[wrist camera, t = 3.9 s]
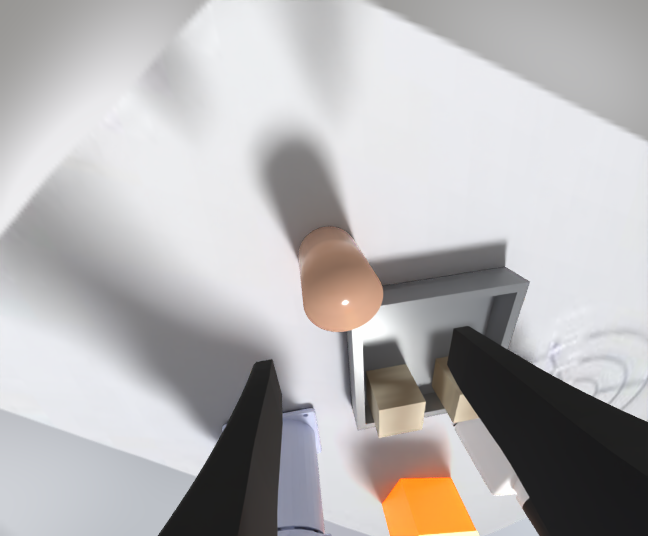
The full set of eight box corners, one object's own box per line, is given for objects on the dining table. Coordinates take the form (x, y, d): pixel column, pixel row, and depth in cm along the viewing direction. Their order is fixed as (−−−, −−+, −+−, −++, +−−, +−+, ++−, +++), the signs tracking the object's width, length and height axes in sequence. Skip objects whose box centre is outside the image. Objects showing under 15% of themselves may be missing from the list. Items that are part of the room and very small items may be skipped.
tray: (352, 407, 28) (357, 430, 26) (343, 292, 21) (350, 310, 19) (473, 384, 29) (489, 404, 27) (505, 266, 22) (529, 281, 20)
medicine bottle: (499, 426, 34) (595, 557, 24) (452, 427, 33) (531, 567, 22) (527, 389, 31) (652, 521, 20) (476, 389, 30) (581, 531, 19)
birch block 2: (431, 385, 27) (453, 423, 24) (435, 358, 25) (460, 395, 22) (467, 379, 27) (494, 415, 24) (474, 351, 26) (504, 386, 22)
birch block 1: (366, 397, 27) (379, 438, 23) (366, 371, 25) (379, 410, 21) (404, 390, 27) (421, 429, 23) (406, 363, 25) (425, 401, 22)
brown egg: (302, 284, 20) (308, 337, 15) (294, 230, 18) (297, 270, 13) (357, 275, 20) (382, 325, 15) (355, 222, 18) (383, 258, 13)
